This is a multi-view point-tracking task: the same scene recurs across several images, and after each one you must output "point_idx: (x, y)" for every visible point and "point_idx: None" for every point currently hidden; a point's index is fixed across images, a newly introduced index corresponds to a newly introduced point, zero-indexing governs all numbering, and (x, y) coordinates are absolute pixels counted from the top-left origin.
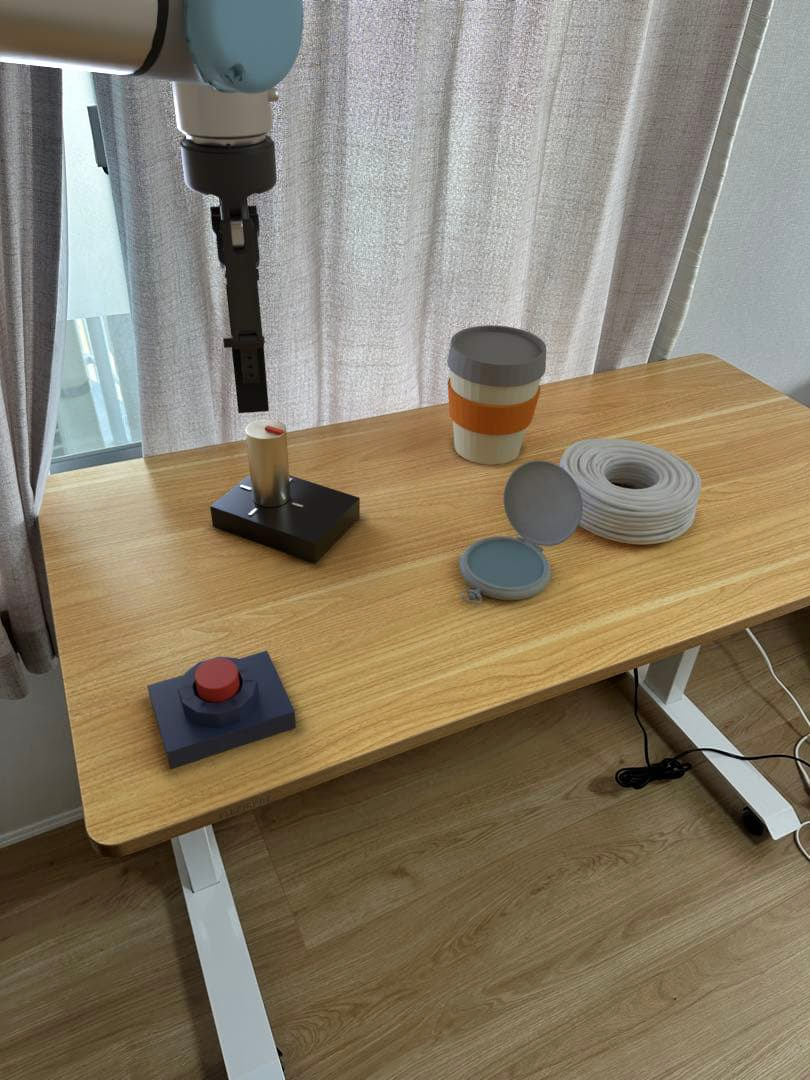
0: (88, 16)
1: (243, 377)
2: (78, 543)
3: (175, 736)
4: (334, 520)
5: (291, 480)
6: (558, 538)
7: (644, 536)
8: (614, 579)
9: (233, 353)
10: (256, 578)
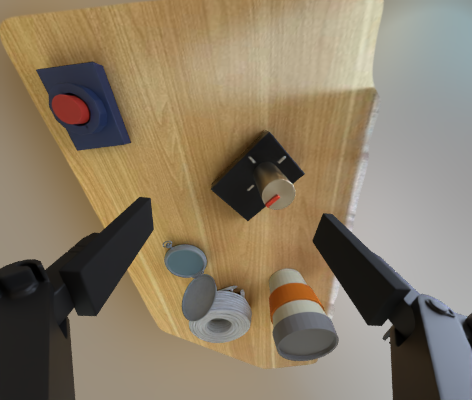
0: None
1: (80, 241)
2: (281, 15)
3: (49, 77)
4: (229, 204)
5: None
6: (190, 287)
7: None
8: (176, 290)
9: (76, 257)
10: (207, 149)
